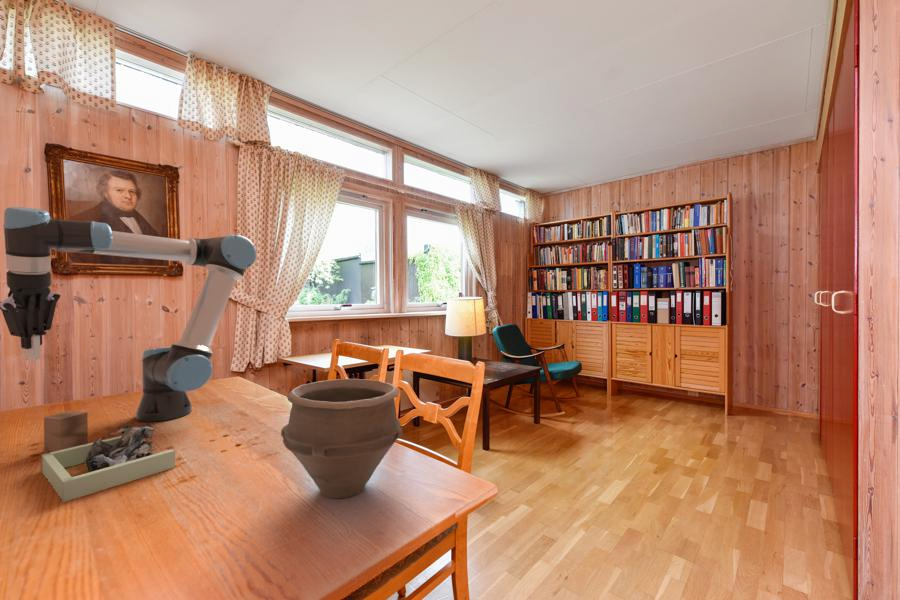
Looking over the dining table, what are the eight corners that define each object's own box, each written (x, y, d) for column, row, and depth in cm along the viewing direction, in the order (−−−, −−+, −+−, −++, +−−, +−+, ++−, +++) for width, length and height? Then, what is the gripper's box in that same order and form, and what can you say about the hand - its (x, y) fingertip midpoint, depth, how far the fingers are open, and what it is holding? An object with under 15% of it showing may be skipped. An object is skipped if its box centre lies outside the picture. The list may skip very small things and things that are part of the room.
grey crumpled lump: (65, 457, 89) (129, 408, 101) (99, 485, 95) (156, 435, 106) (88, 465, 84) (153, 412, 95) (122, 494, 89) (179, 441, 100)
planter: (271, 480, 86) (270, 382, 85) (371, 454, 100) (371, 369, 99) (302, 538, 65) (300, 410, 65) (422, 495, 80) (421, 389, 79)
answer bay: (142, 445, 104) (142, 430, 104) (174, 467, 92) (174, 450, 91) (41, 471, 89) (41, 454, 89) (63, 502, 76) (63, 482, 76)
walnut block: (72, 442, 106) (72, 410, 106) (87, 445, 104) (87, 412, 104) (44, 451, 100) (44, 417, 100) (60, 454, 98) (59, 419, 98)
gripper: (42, 265, 102) (44, 347, 107) (-18, 271, 89) (-12, 365, 94) (70, 270, 102) (71, 352, 107) (14, 277, 89) (18, 370, 94)
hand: (32, 358), depth 101 cm, fingers closed
